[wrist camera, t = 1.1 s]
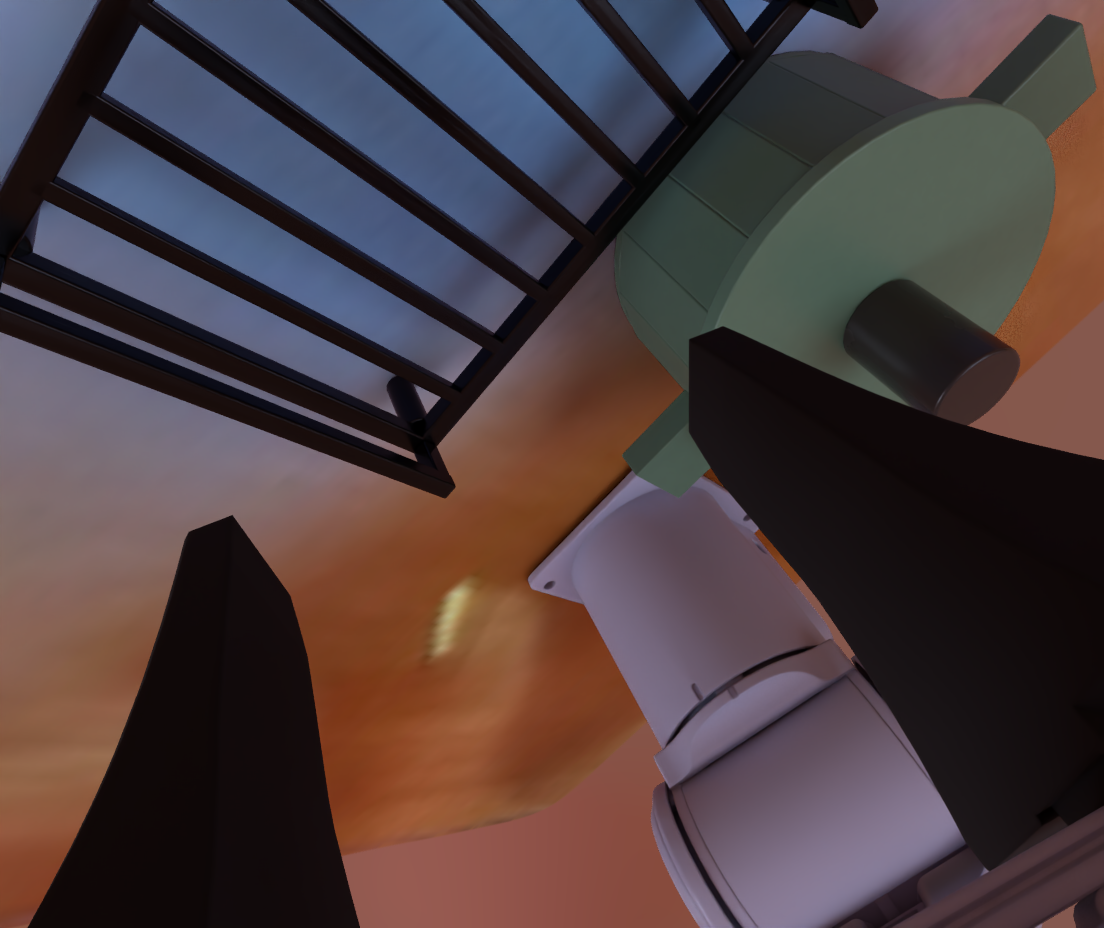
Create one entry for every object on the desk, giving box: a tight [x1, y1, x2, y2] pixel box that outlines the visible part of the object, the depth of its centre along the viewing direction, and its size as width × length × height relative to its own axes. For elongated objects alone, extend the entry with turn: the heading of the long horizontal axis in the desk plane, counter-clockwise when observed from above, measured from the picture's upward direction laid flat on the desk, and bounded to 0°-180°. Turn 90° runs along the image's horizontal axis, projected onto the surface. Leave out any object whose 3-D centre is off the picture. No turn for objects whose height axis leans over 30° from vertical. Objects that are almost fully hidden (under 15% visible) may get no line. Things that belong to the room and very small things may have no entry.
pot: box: [614, 14, 1096, 498], centre depth 22 cm, size 10×15×5 cm, turn 135°
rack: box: [0, 0, 878, 498], centre depth 15 cm, size 11×15×4 cm
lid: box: [700, 97, 1055, 425], centre depth 19 cm, size 11×11×4 cm
